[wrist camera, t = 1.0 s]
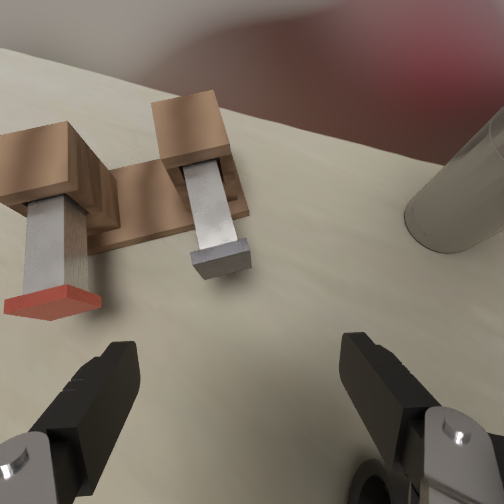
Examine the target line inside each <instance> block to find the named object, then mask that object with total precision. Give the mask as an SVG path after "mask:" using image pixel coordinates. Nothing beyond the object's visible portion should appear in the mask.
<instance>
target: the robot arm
mask: <svg viewBox="0 0 504 504" xmlns="http://www.w3.org/2000/svg"><path fill="white" fill-rule="evenodd" d="M405 222H406V225H407V227H408V230H409V231H410V233H411V234H412V236H413V237H414V238H415V239H416V240H417V241H418V242H420V243H421V244H422V245H424V246H425V247H427V248H429V249H431V250H434V251H438V252H442V253H456V252H460V251H463V250H465V249H467V248H469V247H471V246H473V245H475V244H477V243H479V242H481V241H483V240H485V239H487V238H489V237H491V236H493V235H495V234H497V233H499V232H501V231H503V230H504V107H503V108H502V109H501V110H500V111H499V112H498V113H497V114H496V115H495V116H494V117H493V118H492V119H491V120H490V121H489V122H488V123H487V124H486V125H485V126H484V127H483V128H482V129H481V130H480V131H479V132H478V133H477V134H476V135H475V136H474V137H473V138H472V139H471V140H470V141H469V142H468V143H467V144H466V145H465V146H464V147H463V148H462V149H461V150H460V151H459V152H458V153H457V154H456V155H455V156H454V157H453V159H451V160H450V161H449V162H448V163H447V164H446V165H445V166H444V167H443V168H442V169H441V170H440V171H439V172H438V173H437V174H436V175H435V176H434V177H433V178H432V179H431V180H430V181H429V182H428V183H427V184H426V185H425V186H424V187H423V188H422V189H421V190H420V191H419V192H418V193H417V194H416V195H415V196H414V197H413V198H412V199H411V201H410V202H409V203H408V205H407V207H406V210H405ZM339 373H340V378H341V381H342V383H343V385H344V387H345V389H346V391H347V393H348V395H349V397H350V398H351V400H352V402H353V404H354V406H355V408H356V409H357V411H358V413H359V415H360V417H361V419H362V421H363V422H364V424H365V426H366V428H367V430H368V432H369V434H370V435H371V437H372V439H373V441H374V443H375V445H376V446H377V448H378V450H379V452H380V454H381V456H382V458H383V459H384V461H385V463H386V465H387V467H388V469H389V471H390V472H391V473H399V472H406V474H407V475H408V477H409V479H410V480H411V482H410V486H409V497H408V504H504V436H500V435H495V434H491V433H487V432H486V431H485V430H484V429H483V428H482V427H481V426H480V425H479V424H478V423H477V422H476V421H474V420H473V419H472V418H470V417H468V416H467V415H465V414H463V413H461V412H459V411H457V410H454V409H451V408H448V407H442V406H441V405H440V404H439V403H438V402H437V400H436V399H435V398H434V397H433V396H432V395H431V394H430V393H429V392H428V391H427V390H426V389H425V388H424V386H423V385H422V384H421V383H420V382H419V381H418V380H417V379H416V378H415V377H414V376H413V375H412V374H410V371H409V370H408V369H407V368H406V367H405V366H404V365H402V363H401V362H400V361H399V359H398V358H397V357H396V356H395V355H394V354H393V353H392V352H390V351H389V350H387V349H385V348H384V347H382V346H381V345H375V344H374V343H373V341H372V340H371V339H370V338H369V337H368V336H367V334H366V333H364V332H354V333H344V334H343V336H342V342H341V352H340V361H339ZM139 387H140V369H139V362H138V355H137V347H136V343H135V342H134V341H122V342H112V343H110V345H109V346H108V347H107V349H106V350H105V351H104V353H103V354H102V355H101V356H100V357H94V358H93V359H91V360H90V361H89V362H87V363H86V364H84V365H83V366H82V367H81V368H80V369H79V370H78V371H77V372H76V374H75V375H74V376H73V377H72V379H71V381H69V382H68V383H67V385H66V386H65V387H64V388H63V391H62V392H60V393H59V394H58V396H57V397H56V398H55V399H54V401H53V402H52V403H51V404H50V405H49V407H48V408H47V409H46V410H45V412H44V413H43V414H42V415H41V416H40V418H39V419H38V420H37V421H36V423H35V424H34V425H33V426H32V428H31V429H30V430H29V431H28V432H27V433H23V434H20V435H17V436H15V437H13V438H11V439H9V440H7V441H5V442H3V443H2V444H0V504H73V502H74V500H75V498H76V497H79V496H91V495H93V493H94V490H95V488H96V486H97V484H98V481H99V479H100V477H101V475H102V472H103V470H104V468H105V466H106V463H107V461H108V459H109V457H110V455H111V452H112V450H113V448H114V446H115V443H116V441H117V439H118V437H119V434H120V432H121V430H122V428H123V426H124V423H125V421H126V419H127V417H128V414H129V412H130V410H131V408H132V405H133V403H134V401H135V399H136V397H137V394H138V391H139Z"/></svg>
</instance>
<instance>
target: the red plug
mask: <svg viewBox="0 0 504 504" xmlns="http://www.w3.org/2000/svg"><path fill="white" fill-rule="evenodd" d="M101 307H102V301H101V296H99V295H97V294H94V293H91V292H89V286H88V259H87V231H86V210H85V209H84V208H83V207H82V206H81V205H79V204H78V203H77V202H76V201H74V200H73V199H72V198H71V197H70V196H68V195H67V194H66V193H62V194H58V195H54V196H49V197H45V198H41V199H36V200H32V201H28V212H27V229H26V246H25V264H24V281H23V295H22V296H18V297H14V298H10V299H6V300H5V302H4V314H9V315H15V316H22V317H28V318H35V319H41V320H48V321H52V320H56V319H60V318H63V317H67V316H71V315H75V314H79V313H82V312H86V311H90V310H94V309H97V308H101Z"/></svg>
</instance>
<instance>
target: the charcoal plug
mask: <svg viewBox="0 0 504 504" xmlns="http://www.w3.org/2000/svg"><path fill="white" fill-rule="evenodd" d="M183 171H184V176H185V181H186V185H187V190H188V195H189V200H190V205H191V209H192V214H193V219H194V224H195V228H196V233H197V238H198V243H199V248H200V250H198V251H194V252H190V255H191V260H192V265H193V266H194V268H195V269H196V270H197V271H198V273H199V274H200V275H201V277H202V278H203V279H204V280H207V279H211V278H215V277H219V276H222V275H226V274H230V273H234V272H237V271H241V270H245V269H249V268H252V266H251V256H250V248H249V245H248V241H247V238H244V239H241V240H238V239H237V236H236V232H235V228H234V225H233V221H232V217H231V214H230V210H229V206H228V203H227V199H226V195H225V191H224V188H223V184H222V180H221V177H220V173H219V169H218V166H217V162H216V158H213V159H209V160H204V161H200V162H196V163H191V164H187V165H183Z"/></svg>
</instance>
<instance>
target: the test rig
mask: <svg viewBox="0 0 504 504" xmlns="http://www.w3.org/2000/svg"><path fill="white" fill-rule="evenodd" d="M151 107H152V112H153V118H154V124H155V130H156V136H157V141H158V147H159V153H160V159H157V160H153V161H148V162H144V163H140V164H135V165H131V166H127V167H122V168H118V169H114V170H108V169H107V168H106V167H105V165H104V164H103V163H102V162H101V161H100V159H99V158H98V157H97V156H96V155H95V153H94V152H93V151H92V150H91V149H90V147H89V146H88V145H87V144H86V143H85V141H84V140H83V139H82V138H81V137H80V135H79V134H78V133H77V132H76V131H75V129H74V128H73V127H72V126H71V125H70V123H69V122H68V121H65V122H60V123H55V124H51V125H46V126H41V127H37V128H32V129H27V130H23V131H18V132H13V133H9V134H4V135H0V202H1V203H2V204H4V205H6V206H7V207H9V208H11V209H13V210H14V211H16V212H18V213H20V214H21V215H23V216H25V217H26V218H27V212H28V201H32V200H36V199H41V198H45V197H49V196H54V195H58V194H62V193H66V194H67V195H68V196H70V197H71V198H72V199H73V200H74V201H76V202H77V203H78V204H79V205H81V206H82V207H83V208H84V209H85V210H86V231H87V256H89V255H93V254H97V253H101V252H105V251H109V250H113V249H117V248H121V247H125V246H129V245H133V244H137V243H141V242H145V241H149V240H153V239H157V238H161V237H165V236H169V235H173V234H177V233H181V232H185V231H189V230H193V229H196V228H195V224H194V219H193V214H192V209H191V205H190V200H189V195H188V190H187V185H186V181H185V176H184V171H183V165H187V164H191V163H196V162H200V161H204V160H209V159H213V158H216V162H217V166H218V169H219V173H220V177H221V180H222V184H223V188H224V191H225V195H226V199H227V203H228V206H229V210H230V214H231V217H232V220H233V219H237V218H241V217H245V216H249V210H248V207H247V203H246V200H245V197H244V193H243V190H242V187H241V183H240V180H239V177H238V173H237V170H236V167H235V164H234V160H233V157H232V154H231V149H230V143H229V140H228V136H227V133H226V130H225V127H224V123H223V120H222V117H221V113H220V110H219V107H218V104H217V100H216V97H215V94H214V90H210V91H205V92H200V93H196V94H191V95H186V96H182V97H177V98H172V99H168V100H163V101H158V102H154V103H151Z"/></svg>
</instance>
